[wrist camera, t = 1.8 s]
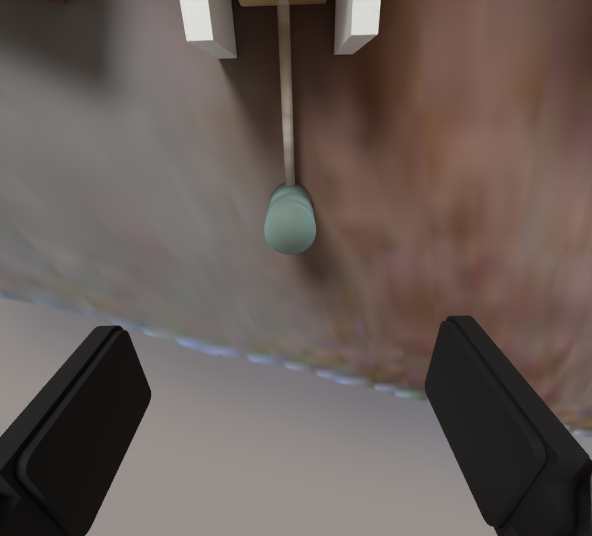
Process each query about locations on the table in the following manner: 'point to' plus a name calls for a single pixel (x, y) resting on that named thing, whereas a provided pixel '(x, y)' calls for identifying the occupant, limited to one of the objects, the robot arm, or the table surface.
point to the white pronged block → (221, 38)
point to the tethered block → (288, 154)
